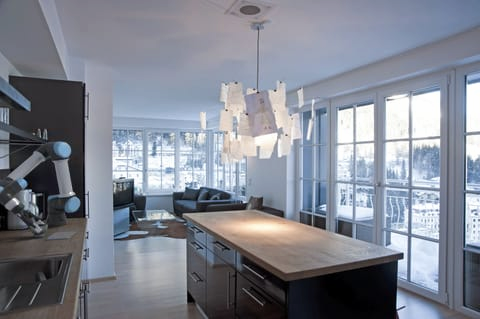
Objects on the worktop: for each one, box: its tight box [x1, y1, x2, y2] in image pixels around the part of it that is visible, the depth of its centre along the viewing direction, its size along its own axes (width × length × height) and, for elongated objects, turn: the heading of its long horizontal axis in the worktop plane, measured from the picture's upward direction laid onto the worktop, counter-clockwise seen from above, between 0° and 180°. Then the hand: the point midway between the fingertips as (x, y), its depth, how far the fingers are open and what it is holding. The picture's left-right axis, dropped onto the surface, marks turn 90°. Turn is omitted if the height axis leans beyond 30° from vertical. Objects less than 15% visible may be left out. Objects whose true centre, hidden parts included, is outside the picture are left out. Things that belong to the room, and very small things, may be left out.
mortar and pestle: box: [29, 218, 49, 238], centre depth 216 cm, size 11×9×12 cm
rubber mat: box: [45, 231, 76, 241], centre depth 219 cm, size 20×13×1 cm, turn 15°
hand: (43, 229), depth 217 cm, fingers closed on mortar and pestle, 10 cm apart
